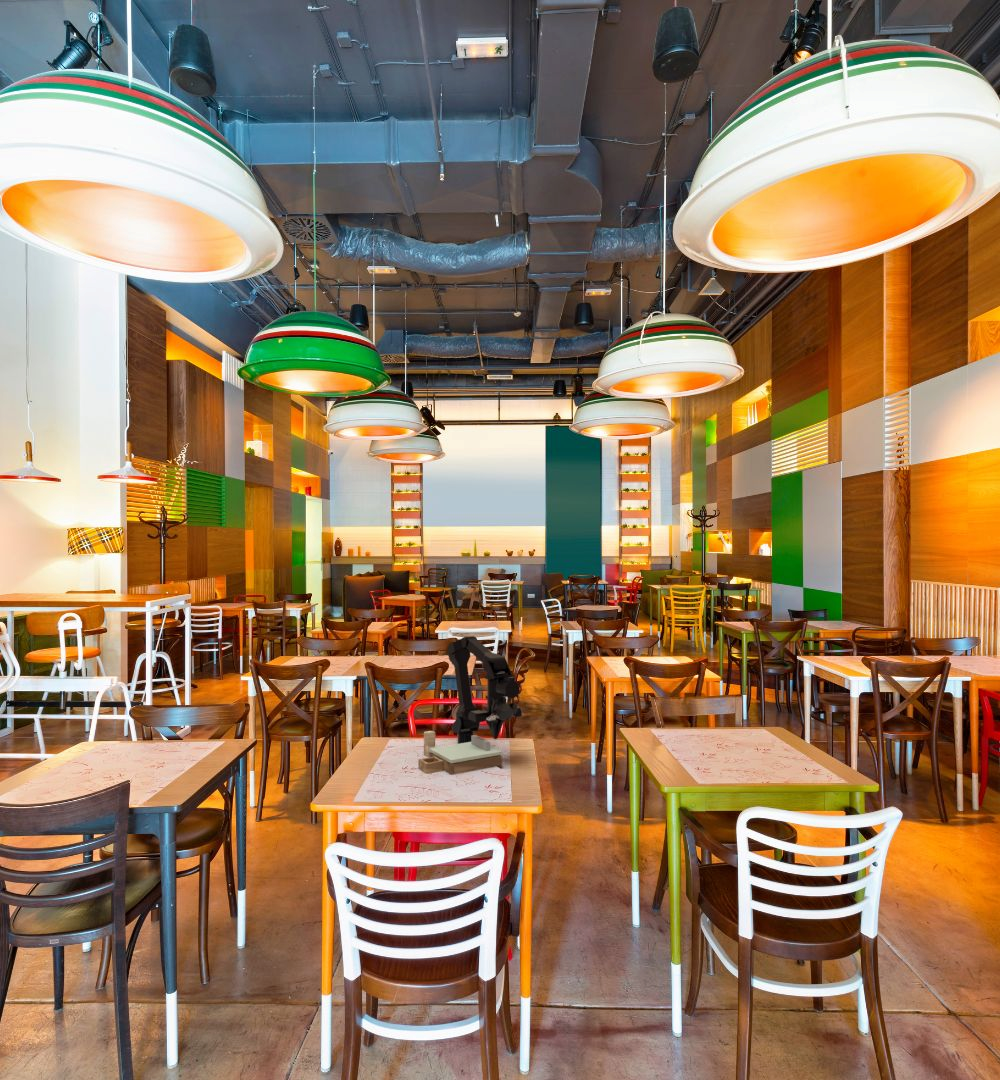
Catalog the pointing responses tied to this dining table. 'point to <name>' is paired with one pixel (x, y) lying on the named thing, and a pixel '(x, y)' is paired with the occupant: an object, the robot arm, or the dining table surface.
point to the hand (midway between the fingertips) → (495, 738)
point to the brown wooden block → (428, 742)
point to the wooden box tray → (457, 764)
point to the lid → (466, 750)
